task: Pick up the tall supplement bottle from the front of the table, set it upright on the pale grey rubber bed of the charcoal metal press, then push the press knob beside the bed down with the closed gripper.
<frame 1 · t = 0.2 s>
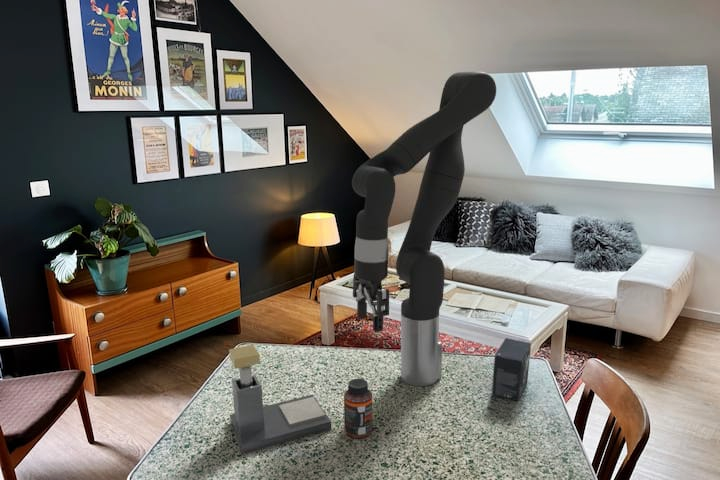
hand: (369, 324, 126), 18 cm above the table, tool pointing down, fingers open, 8 cm apart
plunger: (246, 378, 112), point 13 cm above the table, slide at 0.0 cm
supplement bottle: (358, 432, 116), on the table
box: (510, 388, 132), on the table
press: (280, 426, 118), on the table
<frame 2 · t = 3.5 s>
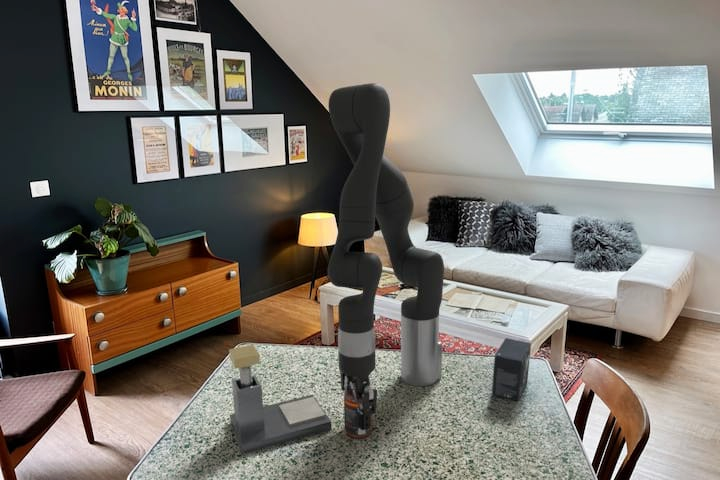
hand: (358, 420, 115), 3 cm above the table, tool pointing down, fingers closed on supplement bottle, 6 cm apart
supplement bottle: (358, 431, 116), on the table, touching gripper
everything else where it was.
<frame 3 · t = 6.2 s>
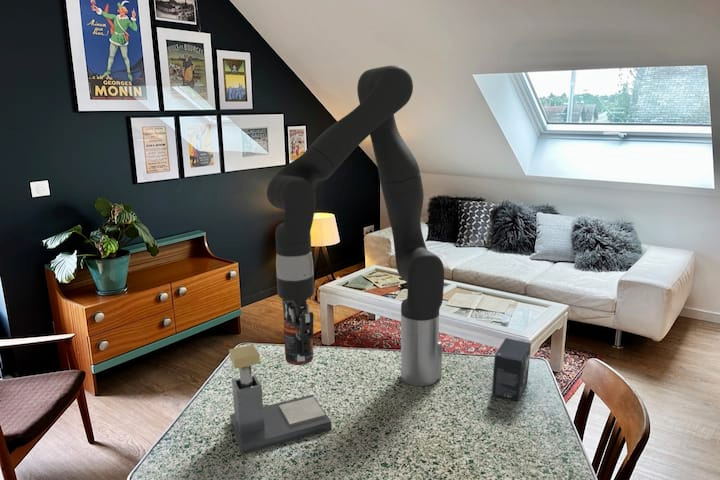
hand: (299, 348, 116), 17 cm above the table, tool pointing down, fingers closed on supplement bottle, 6 cm apart
supplement bottle: (299, 360, 117), point 14 cm above the table, touching gripper
everything else where it was.
when the fingers open (7 cm above the table, at t = 9.0 s): supplement bottle drops 1 cm, resting on press.
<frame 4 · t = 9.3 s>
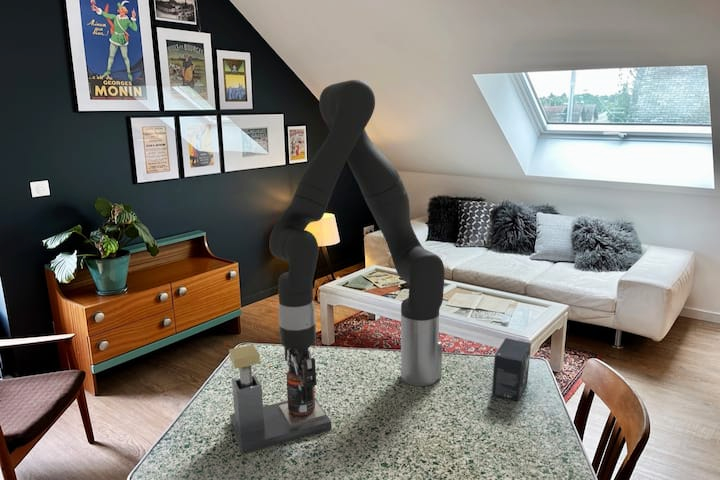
hand: (300, 391, 118), 7 cm above the table, tool pointing down, fingers open, 8 cm apart
supplement bottle: (301, 410, 120), point 2 cm above the table, touching press
everything else where it was.
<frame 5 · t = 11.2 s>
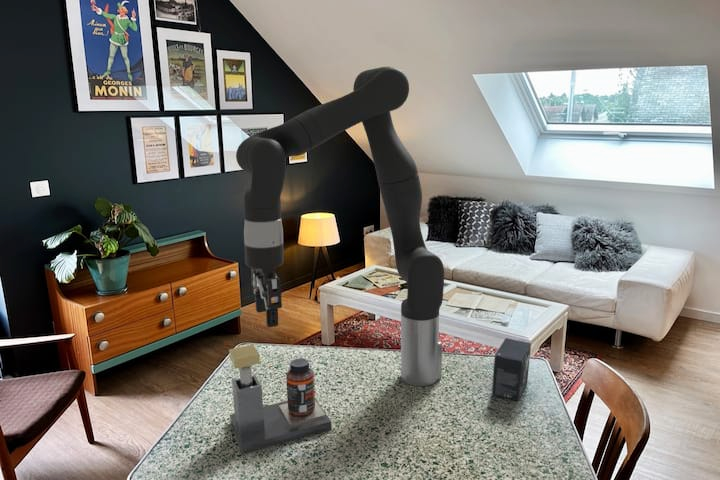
hand: (266, 318, 111), 25 cm above the table, tool pointing down, fingers open, 8 cm apart
nothing on the table moved.
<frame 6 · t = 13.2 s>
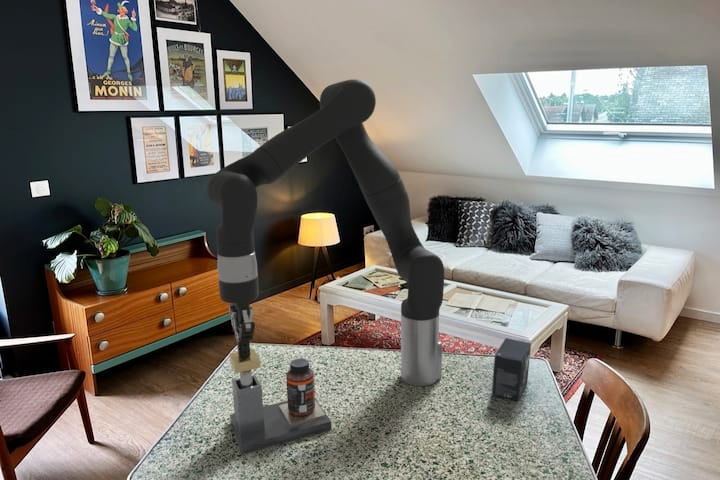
hand: (244, 355, 111), 18 cm above the table, tool pointing down, fingers closed
plunger: (246, 382, 113), point 12 cm above the table, slide at 0.9 cm, touching gripper
everything else where it was.
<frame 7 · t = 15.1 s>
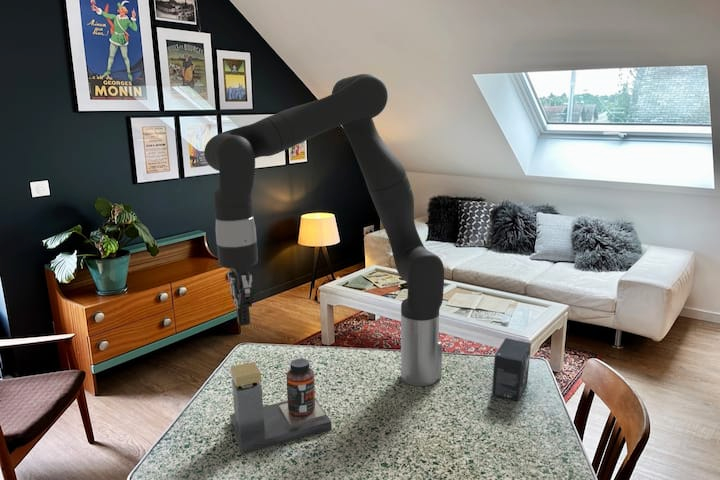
hand: (243, 323, 110), 25 cm above the table, tool pointing down, fingers closed
plunger: (247, 395, 113), point 9 cm above the table, slide at 4.0 cm
everything else where it was.
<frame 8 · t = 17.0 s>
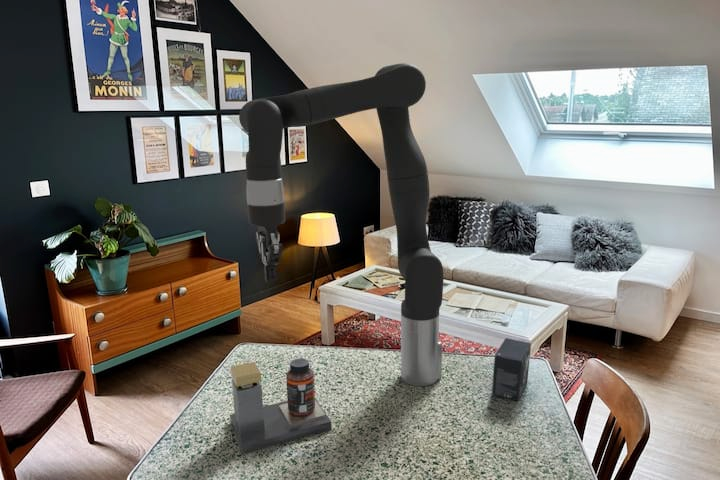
hand: (270, 280, 116), 31 cm above the table, tool pointing down, fingers closed
nothing on the table moved.
at the end: supplement bottle 0.1 cm from the target spot on the press, point 2.4 cm above the press's base; supplement bottle tilted 0°; plunger slide at 4.0 cm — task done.
